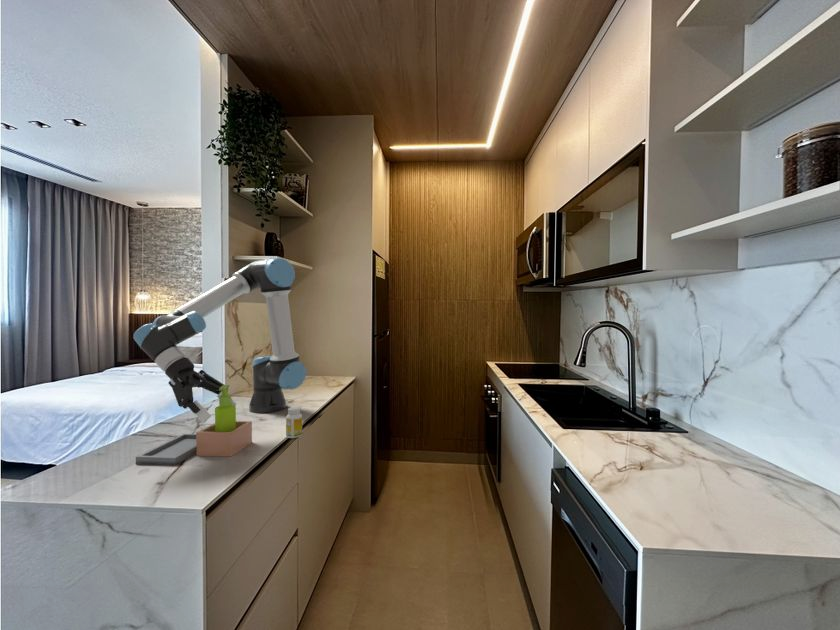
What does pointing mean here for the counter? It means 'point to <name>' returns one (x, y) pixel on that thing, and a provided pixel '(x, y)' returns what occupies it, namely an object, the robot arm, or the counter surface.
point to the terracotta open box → (223, 440)
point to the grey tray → (170, 451)
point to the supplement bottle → (294, 423)
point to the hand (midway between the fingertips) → (221, 413)
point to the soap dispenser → (225, 412)
